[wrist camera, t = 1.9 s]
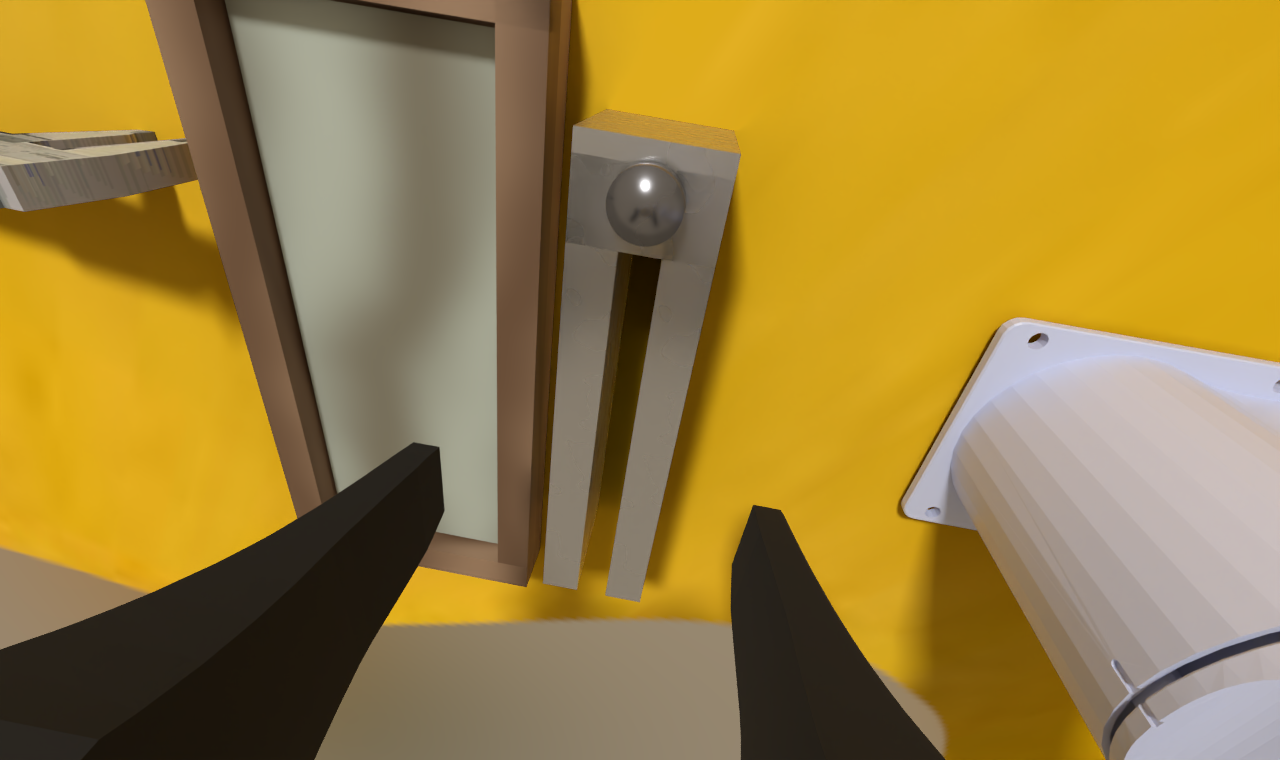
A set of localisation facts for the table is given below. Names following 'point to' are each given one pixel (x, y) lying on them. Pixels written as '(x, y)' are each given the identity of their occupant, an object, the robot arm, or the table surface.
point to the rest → (389, 237)
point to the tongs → (594, 315)
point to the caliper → (87, 166)
